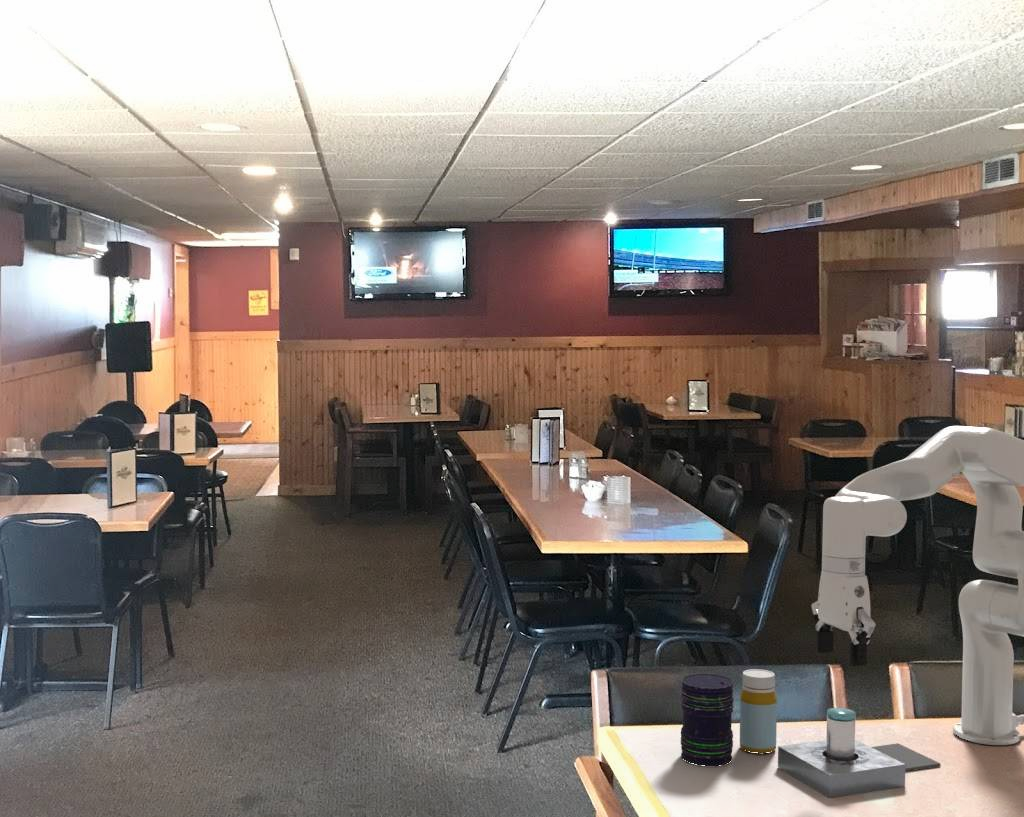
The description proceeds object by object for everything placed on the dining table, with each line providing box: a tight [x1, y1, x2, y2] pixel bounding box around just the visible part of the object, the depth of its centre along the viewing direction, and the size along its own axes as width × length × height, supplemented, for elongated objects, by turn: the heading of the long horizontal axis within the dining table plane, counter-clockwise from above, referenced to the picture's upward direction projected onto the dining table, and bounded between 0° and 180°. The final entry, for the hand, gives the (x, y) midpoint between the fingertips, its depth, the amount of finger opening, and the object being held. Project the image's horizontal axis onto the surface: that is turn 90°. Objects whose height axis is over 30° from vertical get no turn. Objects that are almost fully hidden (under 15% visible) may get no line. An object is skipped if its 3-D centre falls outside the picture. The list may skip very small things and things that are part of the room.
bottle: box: [739, 668, 778, 753], centre depth 228 cm, size 7×7×15 cm
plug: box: [825, 707, 856, 761], centre depth 214 cm, size 5×5×12 cm
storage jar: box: [680, 673, 734, 767], centre depth 223 cm, size 10×10×15 cm
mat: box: [870, 742, 941, 772], centre depth 223 cm, size 12×12×1 cm
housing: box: [777, 739, 906, 799], centre depth 214 cm, size 16×16×4 cm
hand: (841, 658), depth 213 cm, fingers open, 9 cm apart
